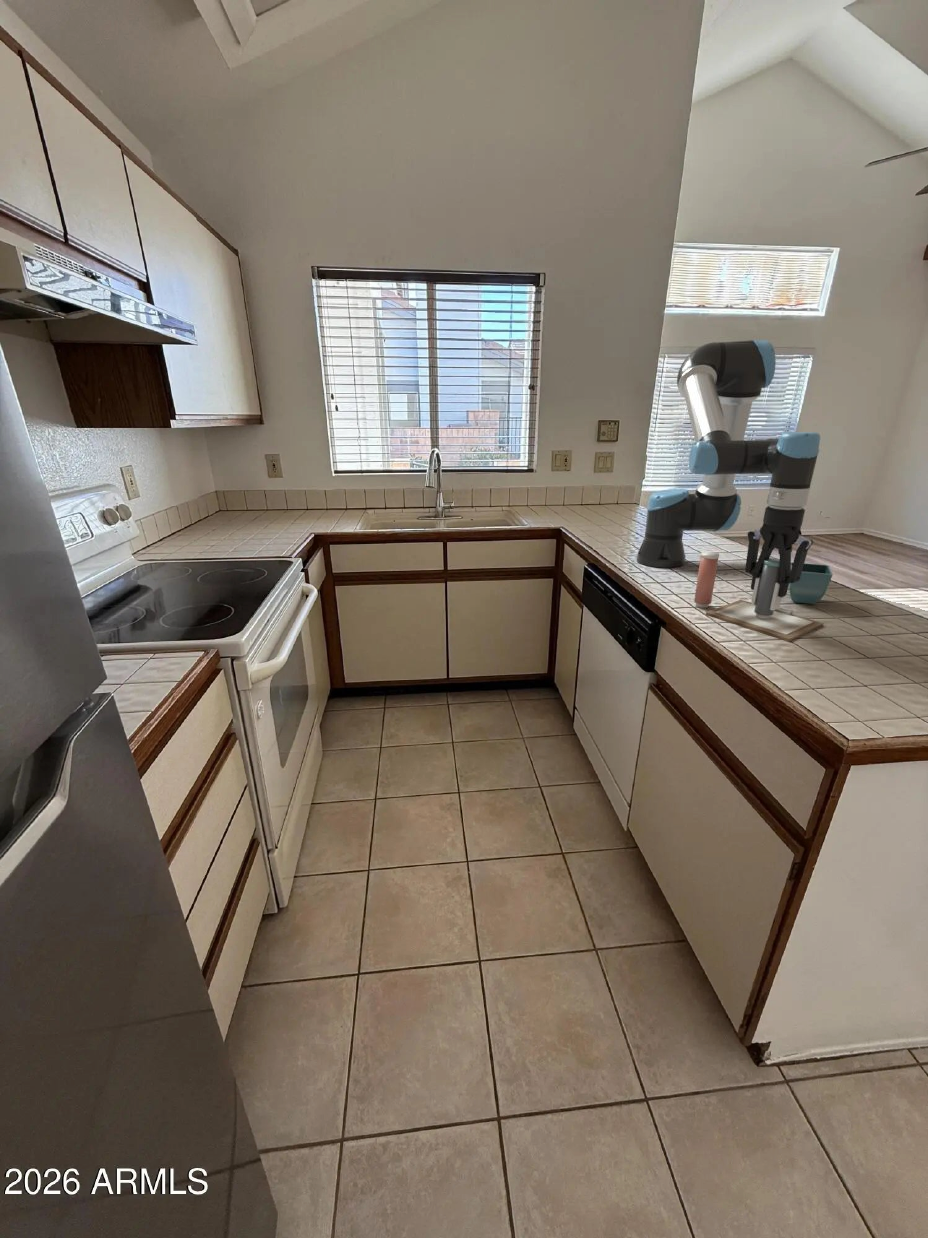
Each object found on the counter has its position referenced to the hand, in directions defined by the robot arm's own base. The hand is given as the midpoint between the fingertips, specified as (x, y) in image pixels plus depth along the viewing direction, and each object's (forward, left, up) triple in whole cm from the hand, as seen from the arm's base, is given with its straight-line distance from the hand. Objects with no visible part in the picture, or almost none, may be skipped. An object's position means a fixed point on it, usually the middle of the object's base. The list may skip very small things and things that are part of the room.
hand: (765, 605), depth 122 cm
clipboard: (0, +1, -4) cm, 4 cm away
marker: (0, 0, -3) cm, 3 cm away
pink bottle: (-14, -2, -4) cm, 15 cm away
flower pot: (-1, +22, -4) cm, 22 cm away
